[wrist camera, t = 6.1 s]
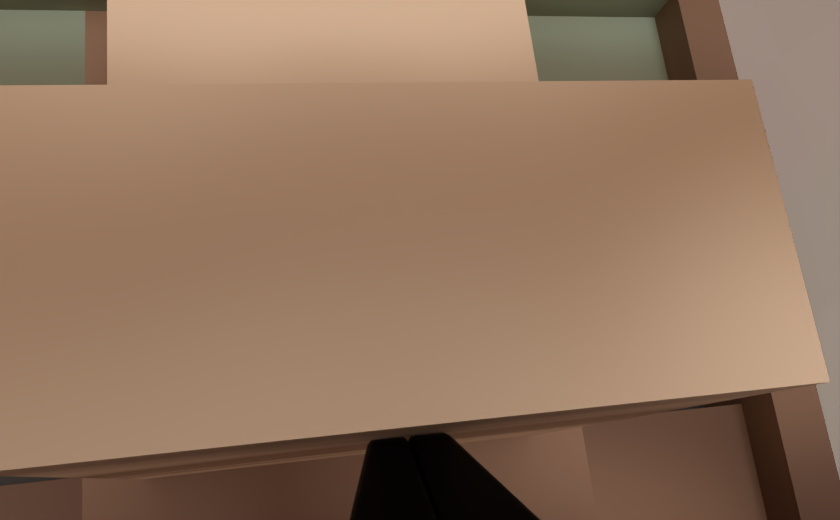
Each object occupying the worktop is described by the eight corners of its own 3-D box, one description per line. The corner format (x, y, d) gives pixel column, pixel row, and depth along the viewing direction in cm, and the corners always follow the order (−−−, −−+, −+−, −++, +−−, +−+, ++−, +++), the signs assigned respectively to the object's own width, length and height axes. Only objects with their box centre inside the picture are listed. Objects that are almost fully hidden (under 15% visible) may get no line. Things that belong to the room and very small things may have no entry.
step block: (533, 435, 14) (830, 381, 7) (145, 478, 13) (-45, 476, 5) (477, 61, 16) (653, -303, 9) (138, 62, 15) (-3, -374, 7)
